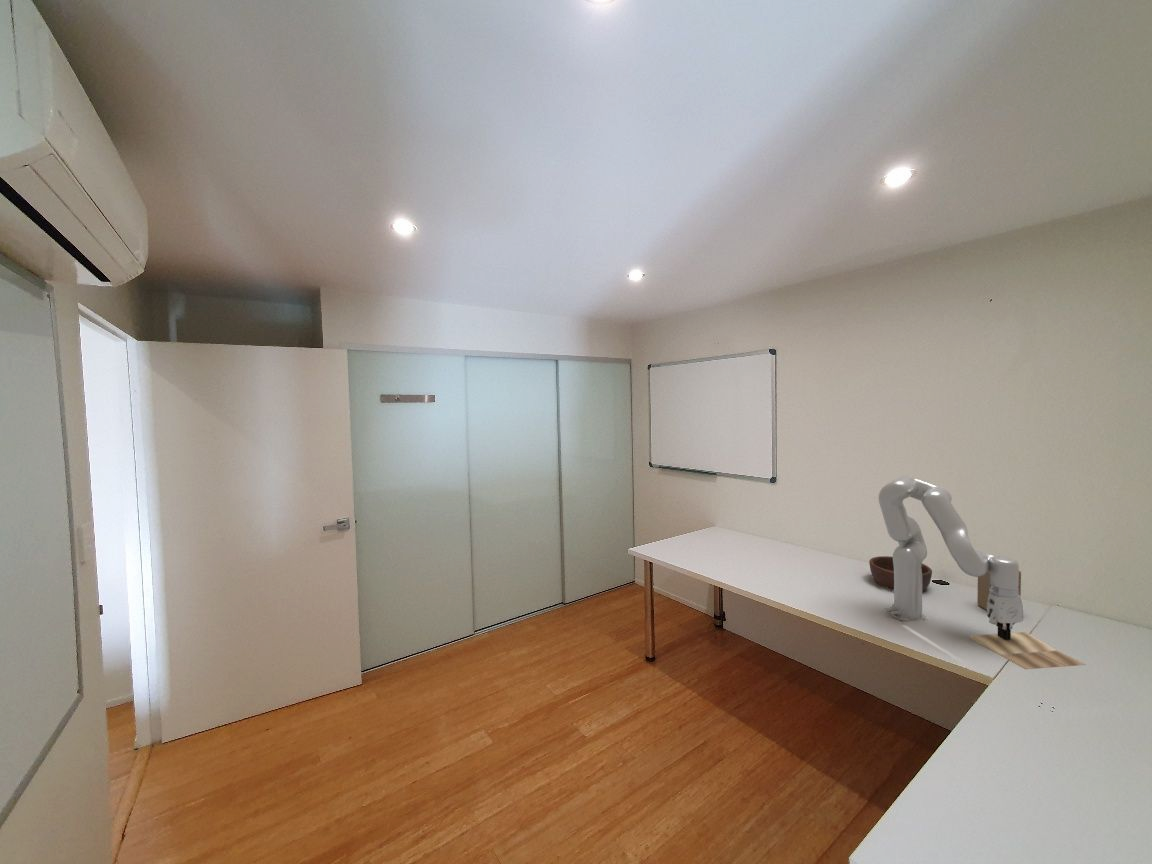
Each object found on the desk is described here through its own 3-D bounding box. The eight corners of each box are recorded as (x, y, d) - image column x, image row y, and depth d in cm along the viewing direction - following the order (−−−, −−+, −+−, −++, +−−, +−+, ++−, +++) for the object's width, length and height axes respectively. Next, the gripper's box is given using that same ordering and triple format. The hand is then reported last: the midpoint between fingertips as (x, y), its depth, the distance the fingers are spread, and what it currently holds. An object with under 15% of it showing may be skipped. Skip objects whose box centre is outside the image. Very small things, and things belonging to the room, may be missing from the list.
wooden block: (1021, 617, 175) (1022, 571, 173) (993, 615, 177) (994, 570, 175) (1002, 606, 184) (1003, 562, 183) (976, 604, 186) (976, 561, 185)
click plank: (998, 657, 149) (999, 654, 148) (971, 639, 158) (971, 635, 158) (1056, 653, 149) (1057, 650, 149) (1025, 635, 159) (1026, 631, 159)
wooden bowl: (913, 575, 219) (914, 556, 218) (944, 597, 195) (944, 576, 194) (860, 573, 225) (860, 555, 224) (883, 594, 200) (883, 573, 200)
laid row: (1025, 673, 140) (1025, 668, 140) (999, 658, 148) (1000, 654, 148) (1086, 668, 141) (1086, 664, 141) (1058, 654, 149) (1058, 650, 149)
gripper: (995, 596, 151) (995, 645, 152) (1034, 593, 152) (1034, 642, 153) (974, 587, 159) (975, 634, 159) (1011, 585, 159) (1011, 631, 160)
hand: (1004, 638), depth 156 cm, fingers closed
